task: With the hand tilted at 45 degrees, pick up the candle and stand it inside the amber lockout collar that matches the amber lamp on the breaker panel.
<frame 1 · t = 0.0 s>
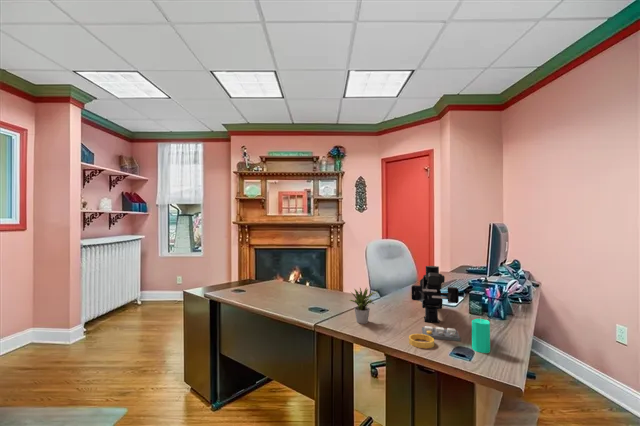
hand: (436, 298, 122), 17 cm above the table, tool horizontal, fingers open, 9 cm apart
lockout collar: (421, 343, 119), on the table
breaker panel: (440, 335, 127), on the table
house plant: (363, 323, 143), on the table
candle: (481, 350, 113), on the table
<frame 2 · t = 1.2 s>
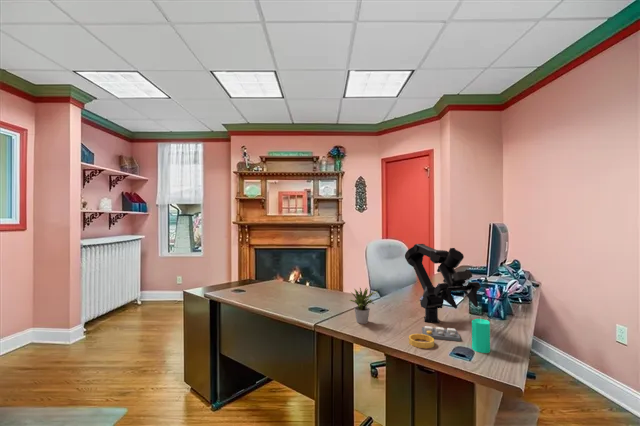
hand: (466, 307, 121), 13 cm above the table, tool tilted 45°, fingers open, 9 cm apart
nothing on the table moved.
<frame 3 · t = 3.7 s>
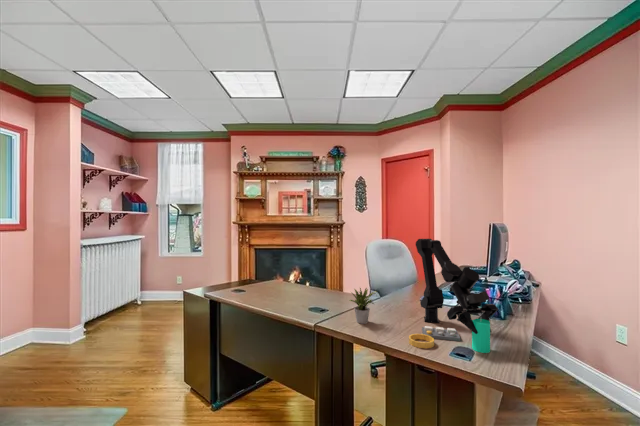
hand: (483, 332, 112), 7 cm above the table, tool tilted 45°, fingers closed on candle, 5 cm apart
candle: (481, 350, 113), on the table, touching gripper
everything else where it was.
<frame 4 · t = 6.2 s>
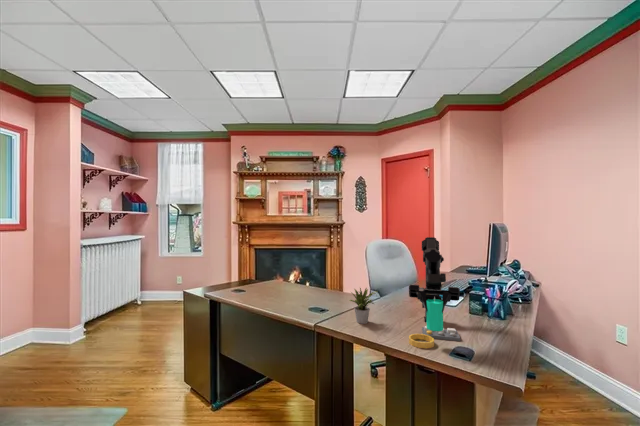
hand: (434, 312, 116), 13 cm above the table, tool tilted 45°, fingers closed on candle, 5 cm apart
candle: (434, 328, 117), point 6 cm above the table, touching gripper
everything else where it was.
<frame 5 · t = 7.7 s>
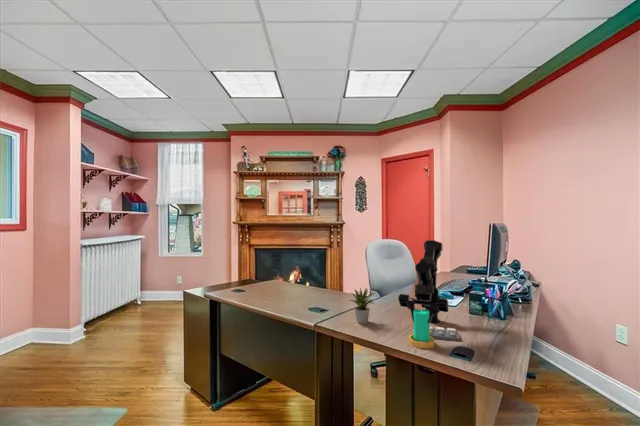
hand: (420, 322, 118), 9 cm above the table, tool tilted 45°, fingers closed on candle, 5 cm apart
candle: (421, 338, 119), point 2 cm above the table, touching gripper
everything else where it was.
when the fingers open (8 cm above the table, at t = 8.7 s): candle drops 1 cm, resting in lockout collar.
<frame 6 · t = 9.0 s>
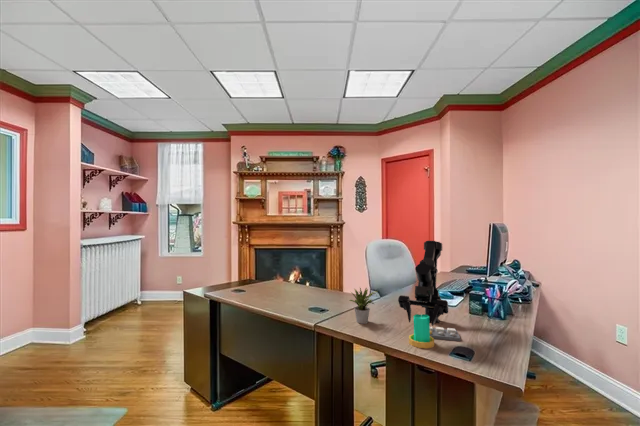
hand: (420, 323, 118), 8 cm above the table, tool tilted 45°, fingers open, 8 cm apart
candle: (421, 343, 119), resting in lockout collar
everything else where it was.
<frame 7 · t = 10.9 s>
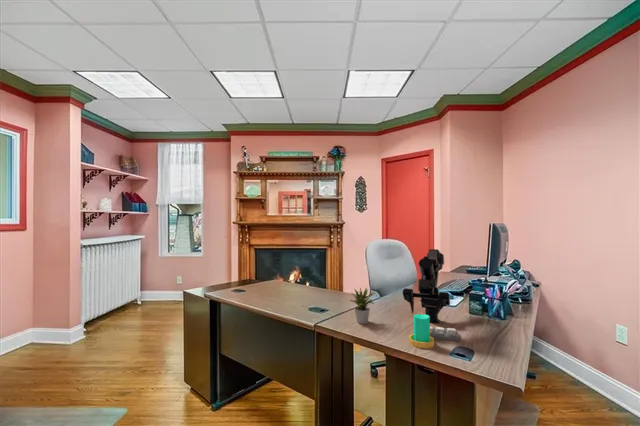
hand: (423, 314, 125), 9 cm above the table, tool tilted 45°, fingers open, 9 cm apart
nothing on the table moved.
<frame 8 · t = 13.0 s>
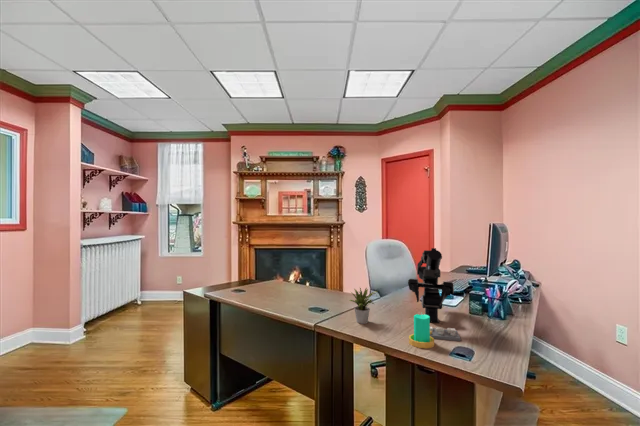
hand: (428, 303, 130), 13 cm above the table, tool tilted 45°, fingers open, 9 cm apart
nothing on the table moved.
at the end: candle 0.4 cm from the lockout collar (horizontally); candle tilted 0°; the gripper is holding nothing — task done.
